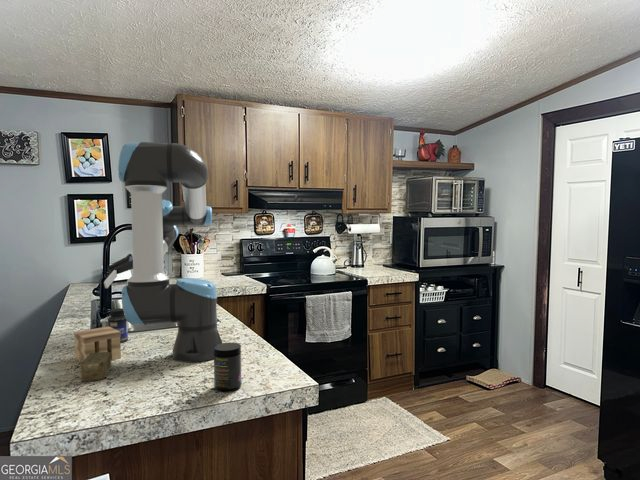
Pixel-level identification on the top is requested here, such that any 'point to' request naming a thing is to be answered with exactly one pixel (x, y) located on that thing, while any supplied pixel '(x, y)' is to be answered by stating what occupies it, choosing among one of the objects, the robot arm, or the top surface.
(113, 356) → the block
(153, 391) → the top surface
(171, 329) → the top surface
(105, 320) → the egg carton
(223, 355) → the supplement container
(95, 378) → the stone block
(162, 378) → the top surface
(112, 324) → the pill bottle
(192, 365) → the top surface
